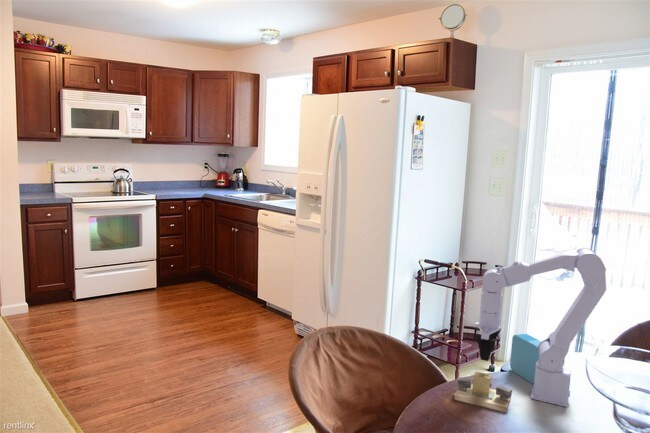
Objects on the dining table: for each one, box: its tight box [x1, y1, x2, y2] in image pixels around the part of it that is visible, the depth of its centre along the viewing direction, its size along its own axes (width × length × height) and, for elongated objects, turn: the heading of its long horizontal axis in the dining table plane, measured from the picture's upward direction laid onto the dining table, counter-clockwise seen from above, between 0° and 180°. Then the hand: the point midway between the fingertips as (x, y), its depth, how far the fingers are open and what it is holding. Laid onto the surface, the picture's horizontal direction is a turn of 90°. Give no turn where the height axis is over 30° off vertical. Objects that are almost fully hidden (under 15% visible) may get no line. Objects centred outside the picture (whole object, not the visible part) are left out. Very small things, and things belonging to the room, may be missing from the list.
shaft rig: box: [453, 376, 513, 413], centre depth 143 cm, size 15×9×4 cm, turn 64°
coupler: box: [472, 371, 492, 396], centre depth 143 cm, size 5×3×5 cm, turn 64°
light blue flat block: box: [509, 333, 542, 385], centre depth 158 cm, size 12×4×12 cm, turn 18°
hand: (486, 355), depth 150 cm, fingers open, 7 cm apart
